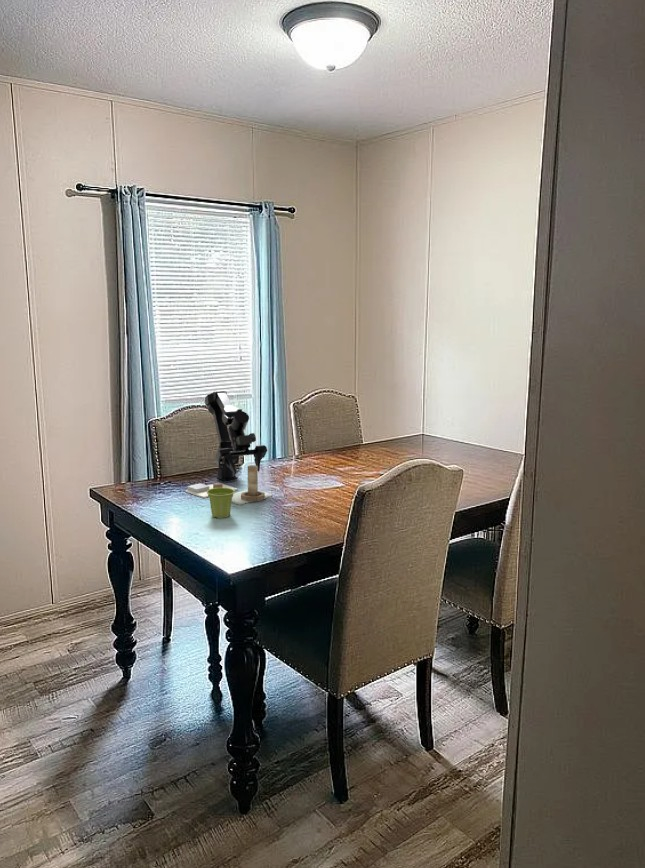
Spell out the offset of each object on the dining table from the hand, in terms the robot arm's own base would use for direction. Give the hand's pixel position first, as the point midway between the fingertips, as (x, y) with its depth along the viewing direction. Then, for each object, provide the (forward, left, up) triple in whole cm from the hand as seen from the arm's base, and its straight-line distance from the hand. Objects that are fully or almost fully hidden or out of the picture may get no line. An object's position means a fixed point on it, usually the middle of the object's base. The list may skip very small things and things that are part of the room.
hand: (247, 472), depth 253 cm
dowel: (+2, +6, -8) cm, 10 cm away
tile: (+6, -14, -9) cm, 18 cm away
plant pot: (+22, +13, -9) cm, 27 cm away
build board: (+2, +3, -9) cm, 10 cm away
